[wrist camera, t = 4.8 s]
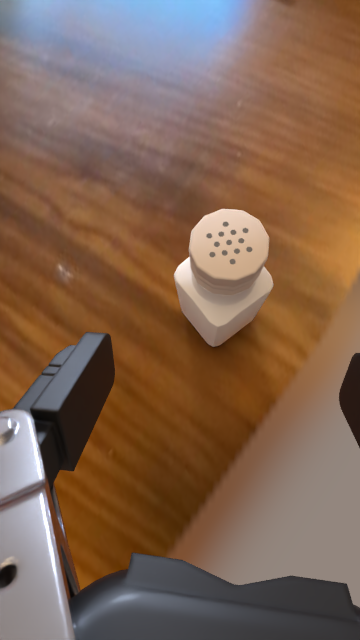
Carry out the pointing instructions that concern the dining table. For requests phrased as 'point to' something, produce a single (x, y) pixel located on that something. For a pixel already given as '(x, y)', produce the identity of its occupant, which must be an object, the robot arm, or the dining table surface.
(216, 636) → the robot arm
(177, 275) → the salt shaker
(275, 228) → the dining table surface
